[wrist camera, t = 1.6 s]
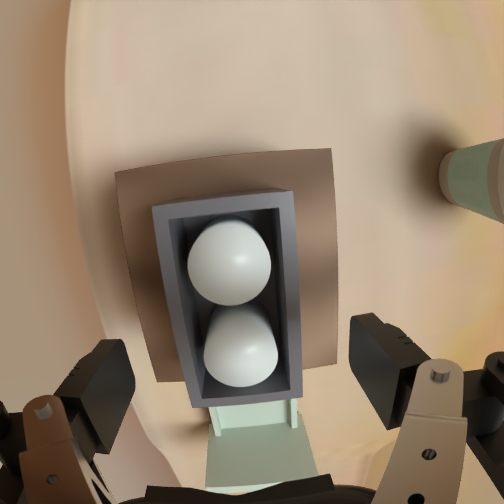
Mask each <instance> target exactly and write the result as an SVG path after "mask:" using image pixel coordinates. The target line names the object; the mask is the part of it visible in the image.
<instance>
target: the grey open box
mask: <svg viewBox="0 0 504 504" xmlns="http://www.w3.org/2000/svg"><path fill="white" fill-rule="evenodd" d="M152 213H153V221H154V228H155V235H156V241H157V248H158V254H159V260H160V266H161V272H162V278H163V283H164V288H165V294H166V299H167V304H168V309H169V314H170V319H171V323H172V328H173V333H174V337H175V342H176V346H177V350H178V355H179V359H180V363H181V367H182V371H183V375H184V379H185V383H186V387H187V390H188V394H189V398H190V401H191V405H192V408H203V407H220V406H234V405H245V404H255V403H264V402H272V401H280V400H287V399H294V398H300V397H303V385H302V340H301V313H300V290H299V271H298V254H297V238H296V224H295V210H294V198H293V191H291V190H285V189H280V188H272V189H261V190H250V191H240V192H231V193H221V194H212V195H204V196H196V197H188V198H180V199H173V200H170V201H167V202H164V203H161V204H158V205H155V206H152Z"/></svg>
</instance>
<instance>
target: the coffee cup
mask: <svg viewBox="0 0 504 504" xmlns="http://www.w3.org/2000/svg"><path fill="white" fill-rule="evenodd" d="M439 184H440V188H441V191H442V193H443V195H444V196H445V198H446V199H447V200H448V201H449V202H451V203H453V204H455V205H458V206H461V207H463V208H466V209H468V210H471V211H474V212H476V213H479V214H481V215H484V216H486V217H489V218H491V219H494V220H496V221H498V222H501V223H503V224H504V139H500V140H495V141H491V142H487V143H483V144H479V145H475V146H471V147H466V148H463V149H459V150H455V151H451V152H449V153H447V154H446V155H445V156H444V158H443V159H442V161H441V164H440V167H439Z"/></svg>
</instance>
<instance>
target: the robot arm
mask: <svg viewBox="0 0 504 504" xmlns="http://www.w3.org/2000/svg"><path fill="white" fill-rule="evenodd" d="M349 363H350V367H351V370H352V372H353V374H354V375H355V377H356V379H357V380H358V382H359V384H360V385H361V387H362V389H363V390H364V392H365V394H366V395H367V397H368V399H369V400H370V402H371V404H372V405H373V407H374V409H375V410H376V412H377V414H378V415H379V417H380V419H381V421H382V422H383V424H384V426H385V427H386V429H387V430H390V429H394V428H397V427H401V428H400V431H399V434H398V437H397V440H396V443H395V446H394V449H393V452H392V454H391V457H390V460H389V462H388V465H387V467H386V470H385V472H384V475H383V477H382V480H381V482H380V484H379V487H378V489H377V491H375V490H372V489H369V488H365V487H360V486H353V485H334V484H333V481H332V478H331V475H330V474H325V475H320V476H315V477H310V478H304V479H298V480H292V481H285V482H282V483H279V484H276V485H273V486H270V487H267V488H263V489H260V490H257V491H253V492H250V493H246V494H242V495H227V494H221V493H215V492H209V491H204V490H199V489H194V488H184V487H161V486H147V489H146V493H145V497H141V498H136V499H131V500H128V501H124V502H121V503H119V504H456V502H457V497H458V492H459V487H460V481H461V475H462V469H463V462H464V454H465V446H466V443H467V444H468V446H469V447H470V449H471V450H472V452H473V453H474V455H475V456H476V458H477V459H478V460H479V462H480V463H481V465H482V466H483V468H484V469H485V471H486V472H487V474H488V476H489V477H490V478H491V480H492V482H493V483H494V485H495V486H496V488H497V490H498V491H499V492H500V494H501V496H502V497H503V499H504V352H494V353H492V354H490V355H488V356H487V358H486V360H485V363H484V367H483V369H480V370H473V371H465V372H463V370H462V368H461V367H460V366H459V365H458V364H456V363H455V362H453V361H450V360H446V359H431V358H430V357H429V356H428V355H427V354H426V353H425V352H424V351H423V350H422V349H421V348H420V347H419V346H418V345H416V344H415V343H413V341H412V340H411V339H410V338H409V337H407V335H406V334H405V333H404V332H403V331H402V330H401V329H400V328H398V327H395V326H393V325H391V324H389V323H386V324H384V323H383V322H382V321H381V320H380V319H379V318H378V317H377V316H376V315H375V314H374V313H367V314H361V315H356V316H352V317H351V320H350V337H349ZM134 392H135V377H134V373H133V370H132V367H131V364H130V361H129V357H128V354H127V351H126V347H125V344H124V342H123V341H122V340H121V339H104V340H101V341H100V342H99V343H98V344H97V346H96V347H95V348H94V349H93V351H92V352H91V353H89V354H87V355H86V356H84V357H83V358H81V359H80V360H79V362H78V363H77V364H76V366H75V367H74V369H73V370H71V372H70V373H69V376H67V377H66V378H65V380H64V381H63V382H62V384H61V385H60V386H59V388H58V389H57V390H56V392H55V393H54V394H53V395H43V396H40V397H36V398H35V399H33V400H31V401H30V402H29V403H27V404H26V406H25V407H24V409H23V412H18V413H8V412H7V410H6V408H5V406H4V405H3V403H2V402H1V401H0V461H1V463H2V464H3V465H2V467H1V469H0V504H118V503H117V502H116V500H115V499H114V497H113V495H112V493H111V491H110V490H109V488H108V486H107V484H106V482H105V480H104V478H103V476H102V474H101V472H100V470H99V468H98V466H97V464H96V462H95V461H94V459H93V457H94V454H95V453H101V454H109V453H110V451H111V448H112V446H113V443H114V440H115V438H116V436H117V433H118V431H119V428H120V426H121V423H122V421H123V418H124V416H125V413H126V411H127V408H128V406H129V404H130V401H131V399H132V397H133V394H134Z"/></svg>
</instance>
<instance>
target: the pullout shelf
mask: <svg viewBox="0 0 504 504" xmlns="http://www.w3.org/2000/svg"><path fill="white" fill-rule="evenodd" d="M208 408H209V412H210V416H211V420H212V423H209V436H208V451H207V466H206V483H205V488H206V490H207V491H209V492H215V493H234V492H249V491H257V490H260V489H263V488H267V487H270V486H273V485H276V484H279V483H282V482H285V481H292V480H298V479H304V478H310V477H315V476H319V475H318V471H317V468H316V464H315V461H314V457H313V454H312V450H311V447H310V443H309V440H308V436H307V433H306V429H305V426H304V422H303V419H302V415H301V414H297V398H294V399H287V400H280V401H272V402H264V403H255V404H245V405H234V406H220V407H208Z"/></svg>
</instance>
